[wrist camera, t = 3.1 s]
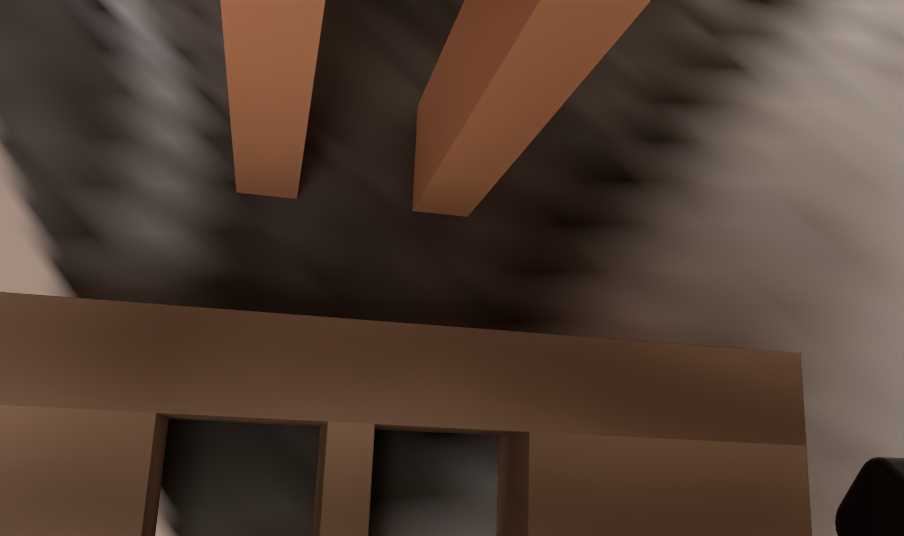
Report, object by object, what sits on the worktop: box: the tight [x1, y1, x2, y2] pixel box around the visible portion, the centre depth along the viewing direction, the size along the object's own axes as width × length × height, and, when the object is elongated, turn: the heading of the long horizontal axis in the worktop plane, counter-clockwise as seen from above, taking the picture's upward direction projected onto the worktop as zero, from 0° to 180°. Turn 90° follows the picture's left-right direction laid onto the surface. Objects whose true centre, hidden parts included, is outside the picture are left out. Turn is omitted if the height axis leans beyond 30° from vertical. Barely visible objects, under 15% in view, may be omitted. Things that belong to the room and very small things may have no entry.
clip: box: [221, 0, 651, 217], centre depth 16 cm, size 3×6×13 cm, turn 87°
